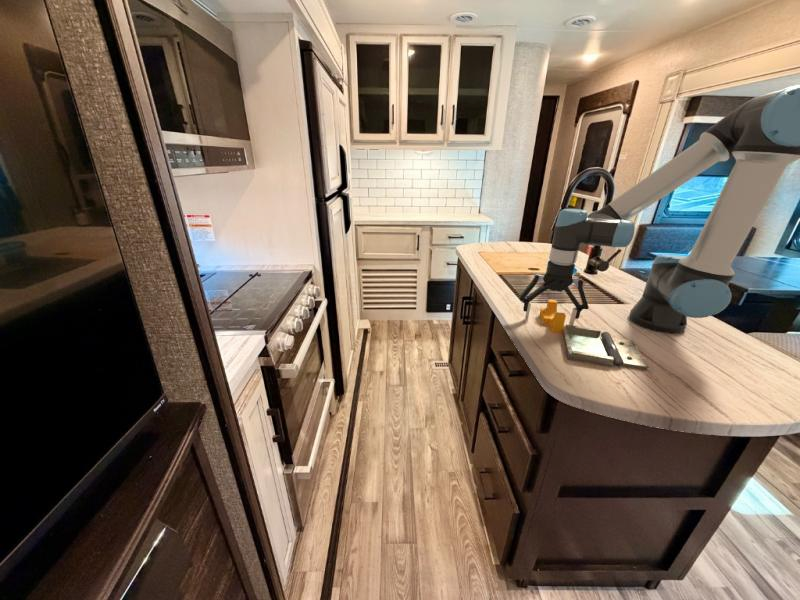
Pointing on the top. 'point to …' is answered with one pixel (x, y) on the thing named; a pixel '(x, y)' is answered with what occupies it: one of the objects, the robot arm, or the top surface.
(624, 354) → the hinge base
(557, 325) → the orange stepped block
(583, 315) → the top surface
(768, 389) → the top surface
